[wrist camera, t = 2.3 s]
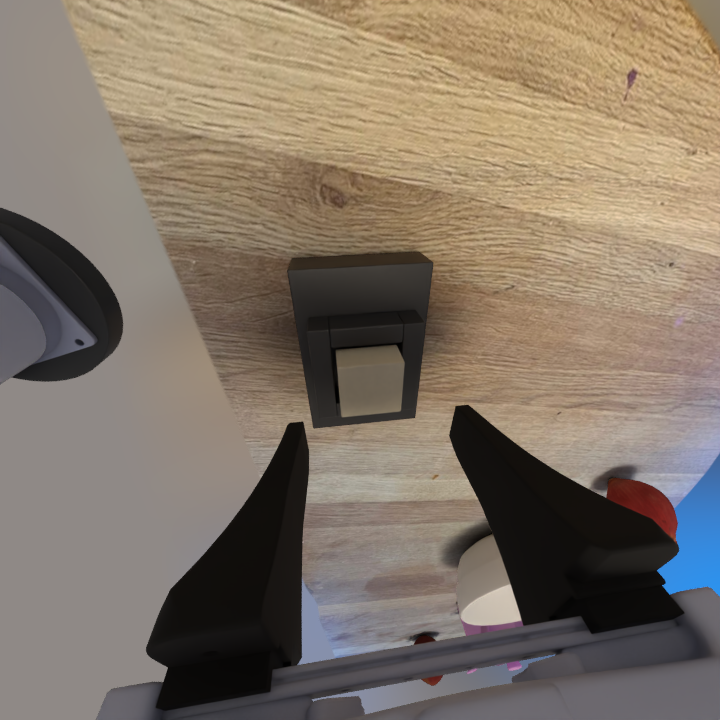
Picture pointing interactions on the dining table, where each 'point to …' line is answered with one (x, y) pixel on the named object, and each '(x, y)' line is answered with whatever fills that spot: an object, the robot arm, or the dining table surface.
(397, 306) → the switch plate
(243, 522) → the robot arm
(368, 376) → the switch
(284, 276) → the dining table surface
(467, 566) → the bowl
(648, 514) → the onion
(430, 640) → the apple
